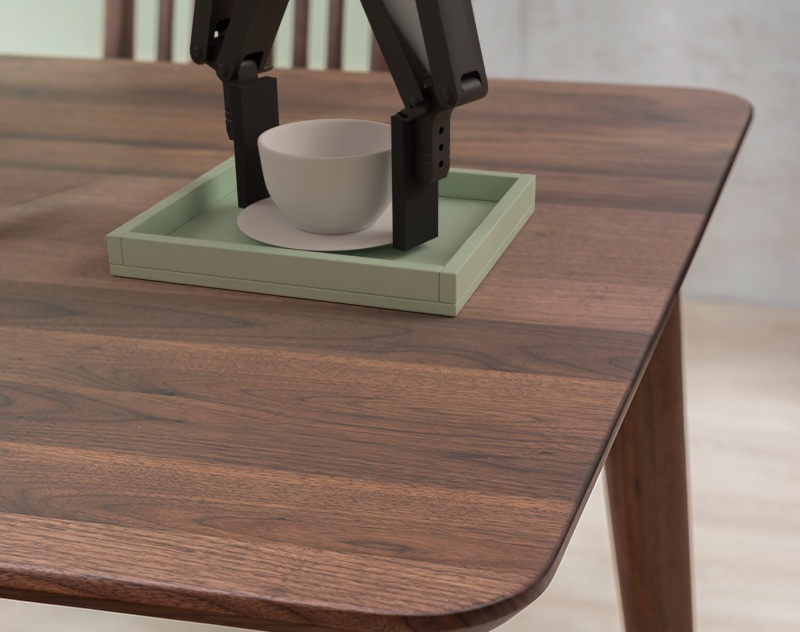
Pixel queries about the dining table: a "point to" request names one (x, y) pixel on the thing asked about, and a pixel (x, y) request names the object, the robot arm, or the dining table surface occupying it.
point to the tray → (327, 270)
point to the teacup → (324, 186)
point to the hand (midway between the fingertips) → (334, 221)
